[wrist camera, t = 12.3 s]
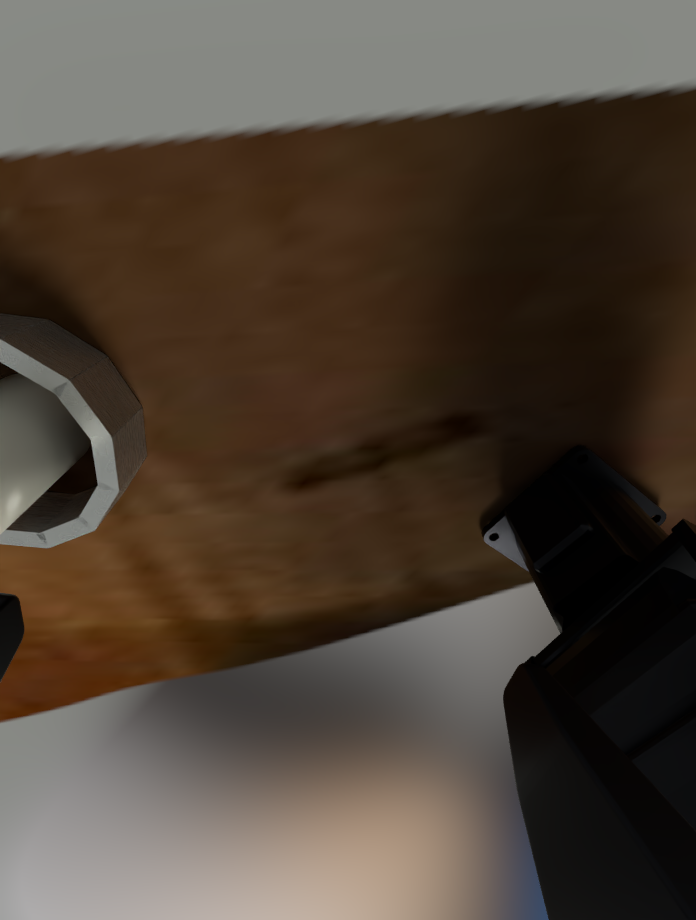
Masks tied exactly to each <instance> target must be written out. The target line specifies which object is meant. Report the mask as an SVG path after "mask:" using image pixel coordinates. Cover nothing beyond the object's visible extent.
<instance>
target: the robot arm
mask: <svg viewBox="0 0 696 920" xmlns="http://www.w3.org/2000/svg"><path fill="white" fill-rule="evenodd" d="M582 454H584V456H583V458H581V459H580V460H577V458H578V457H579V456H580V455H582ZM654 515H655V516H654ZM652 516H654V517H653V518H651V517H652ZM665 519H666V514H665V512H664V511H663V510H662V509H661V508H660V507H658V506H657V505H656V504H655V503H654V502H652V501H651V500H650V499H649V498H648V497H646V496H645V495H644V494H643V493H642V492H640V491H639V490H638V489H637V488H636V487H634V486H633V485H632V484H631V483H630V482H628V481H627V480H626V479H625V478H624V477H622V476H621V475H620V474H619V473H618V472H616V471H615V470H614V469H613V468H612V467H610V466H609V465H608V464H607V463H606V462H604V461H603V460H602V459H601V458H600V457H598V456H597V455H596V454H595V453H594V452H592V451H591V450H590V449H589V448H588V447H586V446H582V445H579V446H576V447H574V448H573V449H571V450H570V451H569V452H568V453H567V454H566V455H564V456H563V457H562V458H561V459H560V460H559V461H558V462H557V463H556V464H554V465H553V466H552V467H551V468H550V469H549V470H548V471H547V472H546V473H544V474H543V475H542V476H541V477H540V478H538V479H537V480H536V481H535V482H534V483H533V484H532V485H531V486H530V487H528V488H527V489H526V490H525V491H524V492H523V493H522V494H521V495H520V496H518V497H517V498H516V499H515V500H514V501H513V502H512V503H511V504H510V505H508V506H507V507H506V508H505V509H504V510H503V511H502V512H501V513H500V514H499V515H498V516H497V517H495V518H494V519H493V520H492V521H491V522H490V523H489V524H488V525H487V526H485V527H484V529H483V530H482V536H483V539H484V541H485V542H486V543H487V544H488V545H490V546H491V547H493V548H494V549H496V550H497V551H499V552H500V553H502V554H503V555H505V556H506V557H508V558H509V559H511V560H512V561H514V562H515V563H517V564H518V565H520V566H521V567H523V568H524V569H526V570H527V571H529V572H530V574H531V576H532V578H533V580H534V582H535V584H536V586H537V588H538V590H539V592H540V594H541V596H542V598H543V600H544V602H545V604H546V606H547V608H548V610H549V612H550V614H551V616H552V618H553V620H554V622H555V624H556V626H557V628H558V630H559V632H560V635H558V636H557V637H556V638H555V639H554V640H553V641H552V642H551V643H550V644H549V645H548V646H546V647H545V648H544V649H543V650H542V651H541V652H540V653H539V654H537V655H536V656H535V657H534V656H531V657H530V658H529V659H528V660H527V661H526V662H525V663H522V664H520V665H519V666H518V667H517V669H516V671H515V672H514V674H513V676H512V678H511V679H510V681H509V682H508V684H507V686H506V688H505V690H504V695H503V703H504V709H505V716H506V723H507V729H508V736H509V743H510V749H511V756H512V763H513V770H514V776H515V782H516V787H517V792H518V797H519V801H520V805H521V809H522V813H523V818H524V822H525V825H526V830H527V834H528V838H529V842H530V846H531V849H532V854H533V858H534V862H535V866H536V870H537V874H538V878H539V882H540V886H541V891H542V895H543V899H544V903H545V906H546V911H547V915H548V919H549V920H696V525H694V524H692V523H690V522H689V521H687V520H685V519H682V520H681V521H680V522H679V523H678V524H677V525H676V526H674V527H673V528H672V529H671V530H672V532H673V533H671V534H670V535H669V536H668V535H667V534H666V533H665V532H664V531H663V530H662V529H661V528H660V527H659V526H660V525H661V524H662V523H663V522H664V521H665ZM492 533H496V534H495V535H494V536H490V534H492ZM23 635H24V623H23V617H22V612H21V606H20V601H19V598H18V597H17V596H16V595H12V594H5V593H0V681H1V680H2V678H3V676H4V674H5V672H6V670H7V668H8V666H9V664H10V662H11V660H12V658H13V657H14V655H15V653H16V651H17V649H18V647H19V645H20V643H21V641H22V638H23Z"/></svg>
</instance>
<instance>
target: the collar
mask: <svg viewBox="0 0 696 920" xmlns="http://www.w3.org/2000/svg"><path fill="white" fill-rule="evenodd" d="M0 362H1V363H3V364H5V365H6V366H8V367H10V368H11V369H13V370H15V371H17V372H18V373H20V374H22V375H24V376H25V377H27V378H29V379H31V380H32V381H34V382H36V383H37V384H39V385H41V386H43V387H44V388H46V389H48V390H50V391H51V392H53V393H55V394H56V395H57V397H58V398H59V399H60V401H61V402H62V403H63V405H64V406H65V407H66V408H67V410H68V411H69V412H70V414H71V415H72V416H73V418H74V419H75V420H76V421H77V423H78V424H79V425H80V427H81V428H82V429H83V431H84V432H85V433H86V434H87V436H88V437H89V438H90V440H91V444H92V450H93V457H94V463H95V470H96V476H97V482H98V486H95V487H93V488H90V489H88V490H85V491H83V492H80V493H78V494H68V493H58V492H47V491H46V492H45V493H44V494H42V495H41V496H40V497H39V498H38V499H37V500H36V501H35V502H34V503H33V504H32V505H31V506H30V507H29V508H28V509H27V510H26V511H25V512H24V513H23V514H22V515H20V516H19V517H18V518H17V519H16V520H15V521H14V522H13V523H12V524H11V525H10V526H9V527H8V528H7V529H6V530H5V531H4V532H3V533H2V534H1V535H0V544H7V545H18V546H29V547H40V548H50V547H53V546H56V545H58V544H61V543H64V542H66V541H69V540H71V539H74V538H77V537H79V536H82V535H84V534H87V533H90V532H92V531H95V530H96V528H97V527H98V526H99V525H100V523H101V522H102V521H103V519H104V518H105V517H106V515H107V514H108V513H109V511H110V510H111V509H112V508H113V506H114V505H115V504H116V502H117V501H118V500H119V498H120V497H121V496H122V495H123V493H124V492H125V490H126V489H127V487H128V486H129V484H130V482H131V481H132V479H133V478H134V476H135V474H136V473H137V471H138V470H139V468H140V466H141V465H142V463H143V462H144V460H145V458H146V457H147V451H146V441H145V430H144V419H143V409H142V406H141V404H140V403H139V401H138V400H137V398H136V397H135V396H134V394H133V393H132V391H131V390H130V388H129V387H128V385H127V384H126V382H125V381H124V379H123V378H122V376H121V375H120V374H119V372H118V371H117V369H116V368H115V366H114V365H113V363H112V362H111V360H110V359H109V357H107V355H105V354H103V353H102V352H100V351H99V350H97V349H95V348H94V347H92V346H91V345H89V344H87V343H86V342H84V341H83V340H81V339H79V338H78V337H76V336H75V335H73V334H71V333H70V332H68V331H67V330H65V329H63V328H62V327H60V326H59V325H57V324H55V323H54V322H52V321H51V320H48V319H42V318H34V317H26V316H18V315H9V314H1V313H0Z"/></svg>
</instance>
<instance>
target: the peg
mask: <svg viewBox="0 0 696 920" xmlns="http://www.w3.org/2000/svg"><path fill="white" fill-rule="evenodd" d="M90 445H91V440H90V438H89V437H88V436H87V434H86V433H85V432H84V431H83V429H82V428H81V427H80V425H79V424H78V423H77V421H76V420H75V419H74V418H73V416H72V415H71V414H70V412H69V411H68V410H67V408H66V407H65V406H64V405H63V403H62V402H61V401H60V399H59V398H58V397H57V395H56V394H55V393H53V392H51V391H50V390H48V389H46V388H44V387H43V386H41V385H39V384H37V383H36V382H34V381H32V380H31V379H29V378H27V377H25V376H24V375H22V374H20V373H19V374H13V375H9V376H7V377H4V378H2V379H0V535H1V534H2V533H3V532H4V531H5V530H6V529H7V528H8V527H9V526H10V525H11V524H12V523H13V522H14V521H15V520H16V519H17V518H18V517H19V516H20V515H22V514H23V513H24V512H25V511H26V510H27V509H28V508H29V507H30V506H31V505H32V504H33V503H34V502H35V501H36V500H37V499H38V498H39V497H40V496H41V495H42V494H44V493H45V492H46V491H47V490H48V489H49V488H50V487H51V486H52V485H53V484H54V483H55V482H56V481H57V480H58V479H59V478H60V477H61V476H62V475H63V474H64V473H66V472H67V471H68V470H69V469H70V468H71V467H72V466H73V465H74V464H75V463H76V462H77V461H78V460H79V459H80V458H81V457H82V456H83V455H84V454H85V453H86V452H87V451H88V449H89V447H90Z"/></svg>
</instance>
